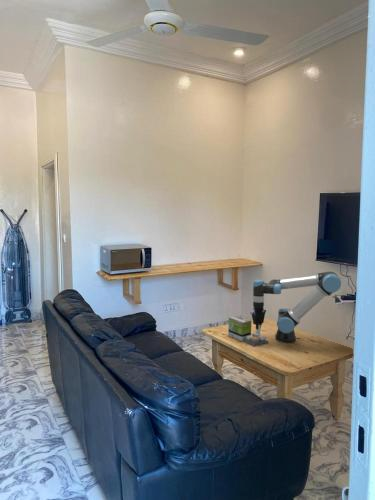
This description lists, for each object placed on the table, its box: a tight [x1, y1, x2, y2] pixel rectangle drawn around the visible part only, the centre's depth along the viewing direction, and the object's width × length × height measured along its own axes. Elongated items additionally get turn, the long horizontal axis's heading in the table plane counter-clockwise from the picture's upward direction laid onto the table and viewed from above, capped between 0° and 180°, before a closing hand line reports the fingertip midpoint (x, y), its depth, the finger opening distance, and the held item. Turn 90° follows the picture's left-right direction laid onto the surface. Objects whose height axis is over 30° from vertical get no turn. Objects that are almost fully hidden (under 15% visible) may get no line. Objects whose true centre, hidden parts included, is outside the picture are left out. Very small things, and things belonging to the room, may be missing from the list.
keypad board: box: [242, 338, 269, 347], centre depth 281 cm, size 13×12×2 cm
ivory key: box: [257, 334, 267, 342], centre depth 280 cm, size 4×4×4 cm
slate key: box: [251, 332, 262, 337], centre depth 284 cm, size 4×4×4 cm
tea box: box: [227, 315, 252, 342], centre depth 290 cm, size 15×10×15 cm
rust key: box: [251, 336, 260, 343], centre depth 277 cm, size 4×4×4 cm
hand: (258, 333), depth 280 cm, fingers closed
